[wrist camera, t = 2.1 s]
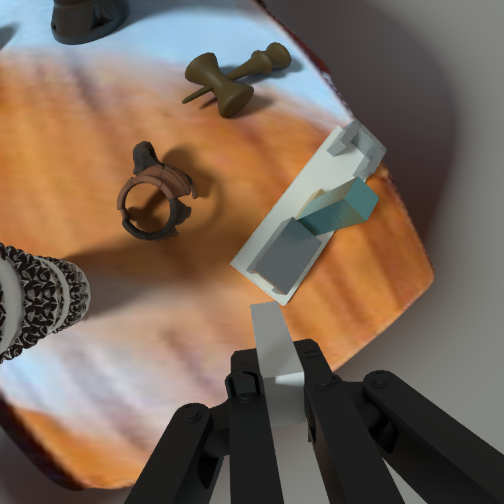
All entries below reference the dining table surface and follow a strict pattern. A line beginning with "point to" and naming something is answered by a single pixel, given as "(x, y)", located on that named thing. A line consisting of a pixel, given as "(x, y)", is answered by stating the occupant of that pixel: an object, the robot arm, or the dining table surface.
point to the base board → (300, 207)
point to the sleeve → (285, 255)
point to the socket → (360, 147)
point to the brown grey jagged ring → (165, 179)
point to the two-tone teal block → (337, 207)
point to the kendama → (233, 77)
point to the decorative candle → (37, 298)
